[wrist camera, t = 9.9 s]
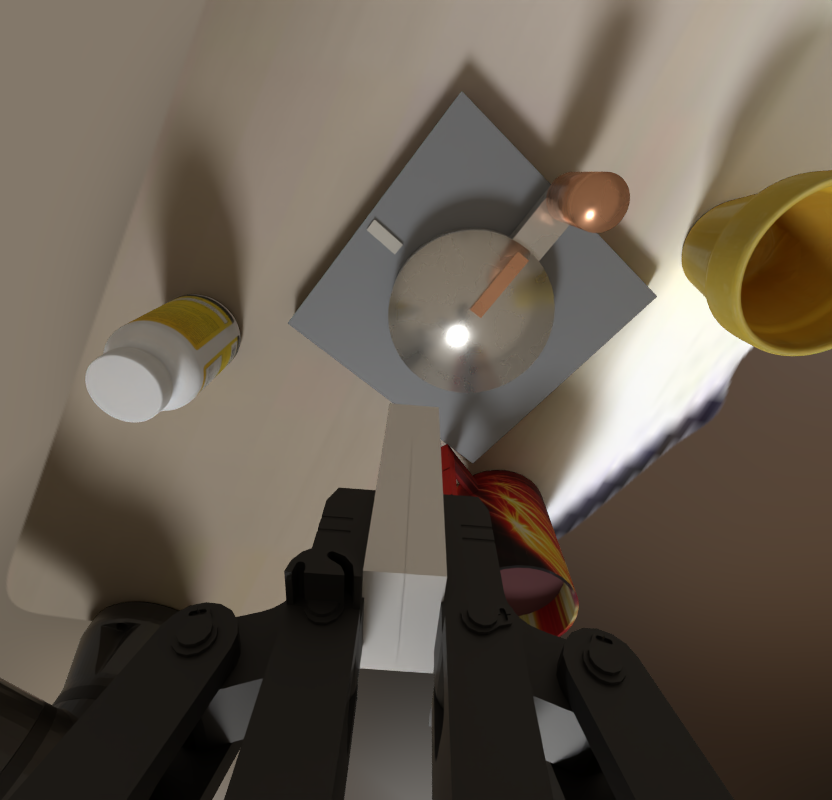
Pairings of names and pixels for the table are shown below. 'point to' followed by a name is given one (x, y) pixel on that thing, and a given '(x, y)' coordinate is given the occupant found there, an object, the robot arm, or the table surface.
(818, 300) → the plant pot
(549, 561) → the mug
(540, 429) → the table surface
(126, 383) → the pill bottle
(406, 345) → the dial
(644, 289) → the base plate
